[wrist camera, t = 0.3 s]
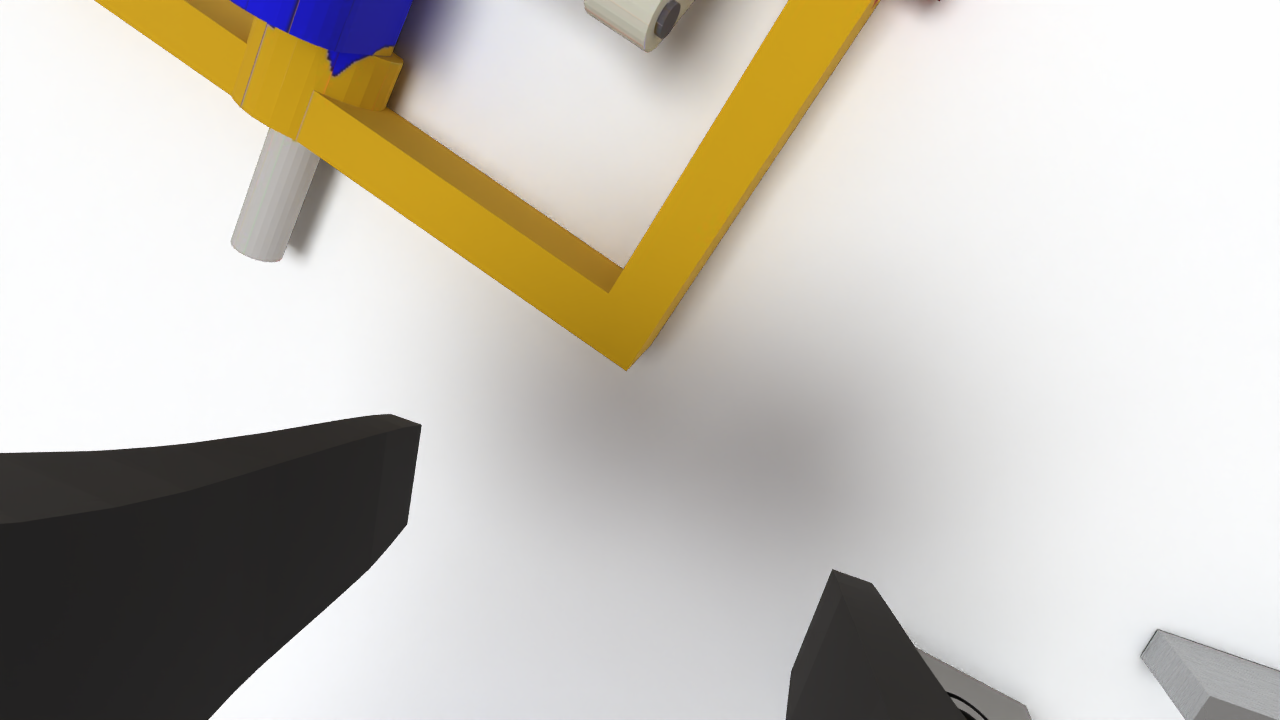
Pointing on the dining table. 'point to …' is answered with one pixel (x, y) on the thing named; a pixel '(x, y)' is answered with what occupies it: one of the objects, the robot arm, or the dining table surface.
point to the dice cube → (974, 694)
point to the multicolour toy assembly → (457, 191)
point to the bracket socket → (1212, 681)
